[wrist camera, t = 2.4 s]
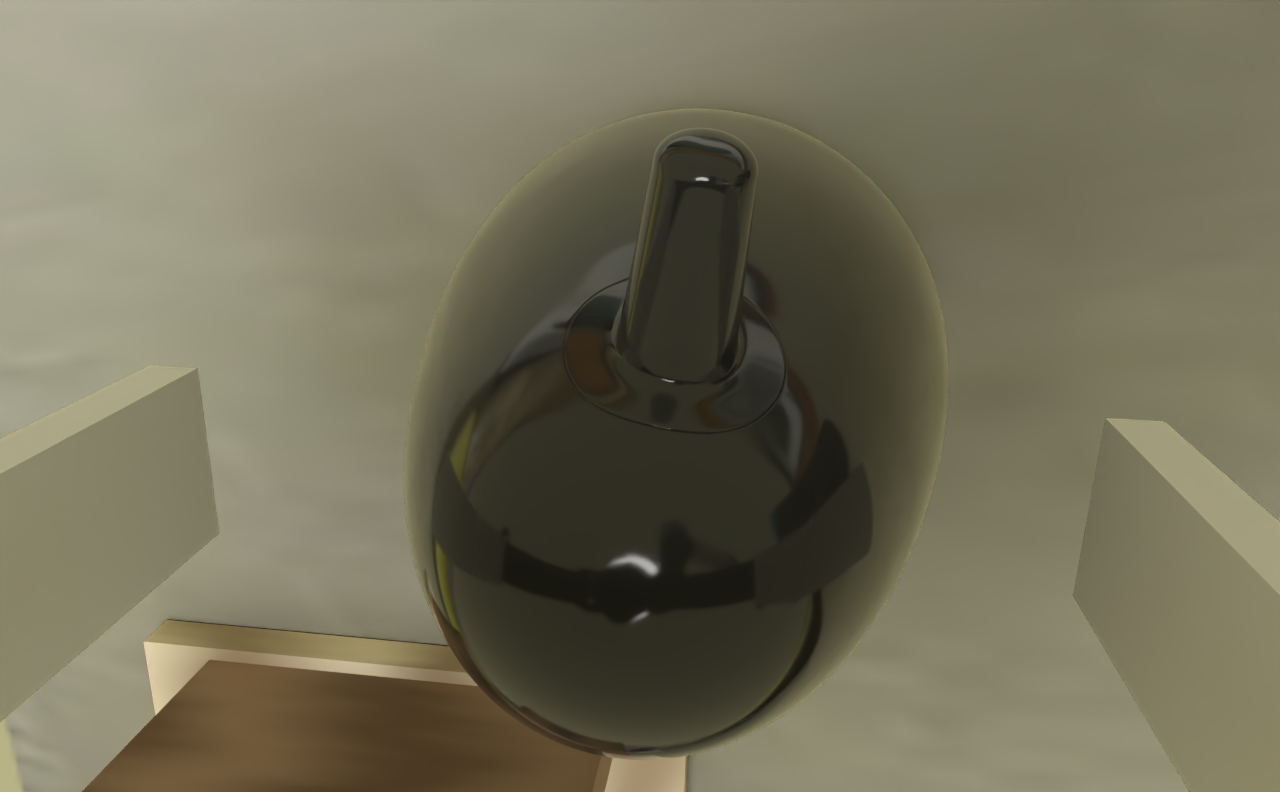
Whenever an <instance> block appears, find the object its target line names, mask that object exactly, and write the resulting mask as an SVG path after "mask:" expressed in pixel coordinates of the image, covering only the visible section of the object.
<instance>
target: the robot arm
mask: <svg viewBox="0 0 1280 792" xmlns="http://www.w3.org/2000/svg"><path fill="white" fill-rule="evenodd" d="M218 534H219V527H218V520H217V512H216V505H215V497H214V489H213V482H212V474H211V467H210V459H209V451H208V444H207V436H206V429H205V421H204V414H203V406H202V398H201V391H200V383H199V376H198V368H187V367H168V366H148V367H146V368H143V369H141V370H139V371H137V372H135V373H133V374H131V375H129V376H127V377H125V378H123V379H121V380H119V381H117V382H115V383H113V384H111V385H109V386H107V387H105V388H103V389H101V390H99V391H97V392H94V393H92V394H90V395H88V396H86V397H84V398H82V399H80V400H78V401H76V402H74V403H72V404H70V405H68V406H66V407H64V408H62V409H60V410H58V411H56V412H54V413H52V414H50V415H47V416H45V417H43V418H41V419H39V420H37V421H35V422H33V423H31V424H29V425H27V426H25V427H23V428H21V429H19V430H17V431H15V432H13V433H11V434H9V435H7V436H5V437H3V438H1V439H0V722H1V721H2V720H3V719H5V718H6V717H7V716H8V715H9V714H10V713H11V712H13V711H14V710H15V709H16V708H17V707H18V706H20V705H21V704H22V703H23V702H24V701H25V700H27V699H28V698H29V697H30V696H31V695H32V694H33V693H35V692H36V691H37V690H38V689H39V688H40V687H42V686H43V685H44V684H45V683H46V682H47V681H49V680H50V679H51V678H52V677H53V676H54V675H56V674H57V673H58V672H59V671H60V670H61V669H62V668H64V667H65V666H66V665H67V664H68V663H69V662H71V661H72V660H73V659H74V658H75V657H76V656H78V655H79V654H80V653H81V652H82V651H83V650H84V649H86V648H87V647H88V646H89V645H90V644H91V643H93V642H94V641H95V640H96V639H97V638H98V637H100V636H101V635H102V634H103V633H104V632H105V631H106V630H108V629H109V628H110V627H111V626H112V625H113V624H115V623H116V622H117V621H118V620H119V619H120V618H122V617H123V616H124V615H125V614H126V613H127V612H129V611H130V610H131V609H132V608H133V607H134V606H135V605H137V604H138V603H139V602H140V601H141V600H142V599H144V598H145V597H146V596H147V595H148V594H149V593H151V592H152V591H153V590H154V589H155V588H156V587H157V586H159V585H160V584H161V583H162V582H163V581H164V580H166V579H167V578H168V577H169V576H170V575H171V574H173V573H174V572H175V571H176V570H177V569H178V568H179V567H181V566H182V565H183V564H184V563H185V562H186V561H188V560H189V559H190V558H191V557H192V556H193V555H195V554H196V553H197V552H198V551H199V550H200V549H202V548H203V547H204V546H205V545H206V544H207V543H208V542H210V541H211V540H212V539H213V538H214V537H215V536H217V535H218ZM1073 596H1074V598H1075V600H1076V601H1077V603H1078V605H1079V606H1080V608H1081V610H1082V611H1083V613H1084V615H1085V616H1086V618H1087V620H1088V622H1089V623H1090V625H1091V627H1092V628H1093V630H1094V632H1095V633H1096V635H1097V637H1098V638H1099V640H1100V642H1101V644H1102V645H1103V647H1104V649H1105V650H1106V652H1107V654H1108V655H1109V657H1110V659H1111V660H1112V662H1113V664H1114V665H1115V667H1116V669H1117V671H1118V672H1119V674H1120V676H1121V677H1122V679H1123V681H1124V682H1125V684H1126V686H1127V687H1128V689H1129V691H1130V693H1131V694H1132V696H1133V698H1134V699H1135V701H1136V703H1137V704H1138V706H1139V708H1140V709H1141V711H1142V713H1143V714H1144V716H1145V718H1146V720H1147V721H1148V723H1149V725H1150V726H1151V728H1152V730H1153V731H1154V733H1155V735H1156V736H1157V738H1158V740H1159V742H1160V743H1161V745H1162V747H1163V748H1164V750H1165V752H1166V753H1167V755H1168V757H1169V758H1170V760H1171V762H1172V763H1173V765H1174V767H1175V769H1176V770H1177V772H1178V774H1179V775H1180V777H1181V779H1182V780H1183V782H1184V784H1185V785H1186V787H1187V789H1188V791H1189V792H1280V522H1279V521H1277V520H1276V519H1275V518H1274V517H1273V516H1272V515H1271V514H1270V513H1268V512H1267V511H1266V510H1265V509H1264V508H1263V507H1262V506H1260V505H1259V504H1258V503H1257V502H1256V501H1255V500H1254V499H1252V498H1251V497H1250V496H1249V495H1248V494H1247V493H1246V492H1244V491H1243V490H1242V489H1241V488H1240V487H1239V486H1238V485H1236V484H1235V483H1234V482H1233V481H1232V480H1231V479H1230V478H1228V477H1227V476H1226V475H1225V474H1224V473H1223V472H1222V471H1220V470H1219V469H1218V468H1217V467H1216V466H1215V465H1214V464H1213V463H1211V462H1210V461H1209V460H1208V459H1207V458H1206V457H1205V456H1203V455H1202V454H1201V453H1200V452H1199V451H1198V450H1197V449H1195V448H1194V447H1193V446H1192V445H1191V444H1190V443H1189V442H1187V441H1186V440H1185V439H1184V438H1183V437H1182V436H1181V435H1179V434H1178V433H1177V432H1176V431H1175V430H1174V429H1173V428H1171V427H1170V426H1169V425H1168V424H1167V423H1166V422H1165V421H1152V420H1133V419H1115V418H1105V424H1104V429H1103V435H1102V440H1101V446H1100V451H1099V457H1098V462H1097V468H1096V473H1095V479H1094V484H1093V490H1092V495H1091V501H1090V506H1089V512H1088V517H1087V522H1086V528H1085V533H1084V539H1083V544H1082V550H1081V555H1080V561H1079V566H1078V572H1077V577H1076V583H1075V588H1074V594H1073Z"/></svg>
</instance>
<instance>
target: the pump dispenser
mask: <svg viewBox="0 0 1280 792" xmlns="http://www.w3.org/2000/svg"><path fill="white" fill-rule="evenodd" d="M947 410H948V354H947V341H946V332H945V325H944V319H943V313H942V308H941V304H940V300H939V296H938V292H937V289H936V285H935V282H934V279H933V276H932V273H931V271H930V268H929V266H928V263H927V261H926V259H925V257H924V254H923V252H922V250H921V248H920V246H919V244H918V242H917V240H916V238H915V237H914V235H913V233H912V232H911V230H910V228H909V227H908V225H907V223H906V222H905V220H904V219H903V217H902V216H901V214H900V213H899V212H898V210H897V209H896V208H895V206H894V205H893V204H892V202H891V201H890V200H889V199H888V198H887V196H886V195H885V194H884V193H883V192H882V191H881V190H880V188H879V187H878V186H877V185H876V184H875V183H874V182H873V181H872V180H871V179H870V178H869V177H868V176H867V175H866V174H865V173H863V172H862V171H861V170H860V169H859V168H858V167H857V166H855V165H854V164H853V163H852V162H850V161H849V160H848V159H847V158H845V157H844V156H842V155H841V154H840V153H838V152H837V151H835V150H834V149H832V148H831V147H829V146H828V145H826V144H824V143H823V142H821V141H819V140H817V139H816V138H814V137H812V136H810V135H808V134H806V133H804V132H802V131H799V130H797V129H795V128H793V127H790V126H788V125H785V124H782V123H780V122H777V121H774V120H770V119H767V118H764V117H760V116H756V115H752V114H747V113H742V112H736V111H729V110H720V109H706V108H689V109H674V110H665V111H658V112H652V113H647V114H642V115H638V116H634V117H630V118H627V119H623V120H620V121H617V122H614V123H611V124H609V125H606V126H603V127H601V128H599V129H596V130H594V131H592V132H590V133H588V134H586V135H584V136H582V137H579V138H578V139H576V140H574V141H572V142H570V143H569V144H567V145H565V146H564V147H562V148H561V149H559V150H557V151H556V152H554V153H553V154H552V155H550V156H549V157H547V158H546V159H545V160H543V161H542V162H541V163H539V164H538V165H537V166H536V167H534V168H533V169H532V170H531V171H530V172H529V173H528V174H526V175H525V176H524V177H523V178H522V179H521V180H520V181H519V182H518V183H517V184H516V185H515V186H514V187H513V188H512V189H511V190H510V191H509V192H508V193H507V194H506V195H505V197H504V198H503V199H502V200H501V201H500V202H499V204H498V205H497V206H496V207H495V209H494V210H493V211H492V213H491V214H490V215H489V217H488V218H487V219H486V221H485V222H484V223H483V225H482V226H481V228H480V229H479V231H478V232H477V234H476V235H475V236H474V238H473V239H472V241H471V243H470V244H469V246H468V247H467V249H466V251H465V252H464V254H463V256H462V257H461V259H460V261H459V263H458V264H457V266H456V268H455V270H454V272H453V274H452V276H451V278H450V280H449V282H448V284H447V286H446V288H445V291H444V293H443V295H442V297H441V300H440V302H439V305H438V307H437V310H436V312H435V315H434V318H433V321H432V324H431V327H430V330H429V333H428V336H427V340H426V343H425V347H424V350H423V354H422V357H421V361H420V365H419V369H418V374H417V378H416V382H415V387H414V391H413V396H412V401H411V407H410V413H409V418H408V425H407V433H406V442H405V455H404V496H405V510H406V520H407V528H408V535H409V541H410V546H411V551H412V555H413V560H414V564H415V568H416V571H417V575H418V578H419V581H420V584H421V587H422V590H423V593H424V596H425V598H426V601H427V603H428V606H429V608H430V610H431V613H432V615H433V617H434V619H435V621H436V623H437V625H438V627H439V629H440V631H441V633H442V635H443V637H444V639H445V640H446V642H447V644H448V645H449V647H450V649H451V650H452V652H453V653H454V655H455V657H456V658H457V660H458V661H459V662H460V664H461V665H462V667H463V668H464V669H465V671H466V672H467V673H468V674H469V676H470V677H471V678H472V679H473V681H474V682H475V683H476V684H477V685H478V686H479V687H480V688H481V690H482V691H483V692H484V693H485V694H486V695H487V696H488V697H489V698H490V699H492V700H493V701H494V702H495V703H496V704H497V705H498V706H499V707H500V708H502V709H503V710H504V711H505V712H507V713H508V714H509V715H511V716H512V717H513V718H515V719H516V720H518V721H519V722H520V723H522V724H524V725H525V726H527V727H528V728H530V729H532V730H533V731H535V732H537V733H539V734H541V735H543V736H544V737H547V738H549V739H551V740H553V741H555V742H557V743H560V744H562V745H565V746H567V747H570V748H573V749H576V750H579V751H583V752H586V753H590V754H594V755H599V756H604V757H610V758H618V759H628V760H659V759H670V758H677V757H683V756H688V755H693V754H698V753H702V752H705V751H709V750H712V749H715V748H718V747H721V746H724V745H726V744H729V743H731V742H734V741H736V740H738V739H741V738H743V737H745V736H747V735H749V734H751V733H753V732H755V731H757V730H759V729H761V728H763V727H764V726H766V725H768V724H770V723H771V722H773V721H775V720H776V719H778V718H779V717H781V716H782V715H784V714H785V713H787V712H788V711H790V710H791V709H793V708H794V707H795V706H797V705H798V704H800V703H801V702H802V701H803V700H805V699H806V698H807V697H808V696H810V695H811V694H812V693H813V692H814V691H815V690H816V689H818V688H819V687H820V686H821V685H822V684H823V683H824V682H825V681H826V680H827V679H828V678H829V677H830V676H831V675H832V674H833V673H834V672H835V671H836V670H837V669H838V668H839V667H840V666H841V665H842V664H843V662H844V661H845V660H846V659H847V658H848V657H849V655H850V654H851V653H852V652H853V651H854V649H855V648H856V647H857V646H858V644H859V643H860V642H861V640H862V639H863V638H864V636H865V635H866V634H867V632H868V631H869V629H870V628H871V627H872V625H873V624H874V622H875V621H876V619H877V618H878V616H879V615H880V613H881V612H882V610H883V608H884V607H885V605H886V603H887V602H888V600H889V598H890V596H891V595H892V593H893V591H894V589H895V587H896V585H897V583H898V581H899V579H900V577H901V575H902V573H903V570H904V568H905V566H906V564H907V561H908V559H909V557H910V554H911V552H912V549H913V547H914V544H915V541H916V539H917V536H918V533H919V531H920V528H921V525H922V522H923V519H924V516H925V513H926V510H927V507H928V504H929V501H930V498H931V494H932V491H933V487H934V484H935V480H936V476H937V472H938V468H939V464H940V459H941V454H942V449H943V443H944V437H945V430H946V421H947Z"/></svg>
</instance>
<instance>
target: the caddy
mask: <svg viewBox="0 0 1280 792" xmlns="http://www.w3.org/2000/svg"><path fill="white" fill-rule="evenodd" d="M144 647H145V653H146V660H147V666H148V672H149V678H150V684H151V690H152V696H153V702H154V708H155V714H156V716H155V717H154V718H153V719H152V720H151V721H150V722H149V723H148V724H147V725H146V726H145V727H144V728H143V729H142V730H141V731H140V732H139V733H138V734H137V735H136V736H135V737H134V738H133V739H132V740H131V741H130V742H129V744H128V745H127V746H126V747H125V748H124V749H123V750H122V751H121V752H120V753H119V754H118V755H117V756H116V757H115V758H114V759H113V760H112V761H111V762H110V763H109V764H108V765H107V766H106V767H105V768H104V769H103V771H102V772H101V773H100V774H99V775H98V776H97V777H96V778H95V779H94V780H93V781H92V782H91V783H90V784H89V785H88V786H87V787H86V788H85V789H84V790H83V791H82V792H687V772H688V756H683V757H677V758H670V759H659V760H628V759H618V758H610V757H604V756H599V755H594V754H590V753H586V752H583V751H579V750H576V749H573V748H570V747H567V746H565V745H562V744H560V743H557V742H555V741H553V740H551V739H549V738H547V737H544V736H543V735H541V734H539V733H537V732H535V731H533V730H532V729H530V728H528V727H527V726H525V725H524V724H522V723H520V722H519V721H518V720H516V719H515V718H513V717H512V716H511V715H509V714H508V713H507V712H505V711H504V710H503V709H502V708H500V707H499V706H498V705H497V704H496V703H495V702H494V701H493V700H492V699H490V698H489V697H488V696H487V695H486V694H485V693H484V692H483V691H482V690H481V688H480V687H479V686H478V685H477V684H476V683H475V682H474V681H473V679H472V678H471V677H470V676H469V674H468V673H467V672H466V671H465V669H464V668H463V667H462V665H461V664H460V662H459V661H458V660H457V658H456V657H455V655H454V653H453V652H452V650H451V649H450V647H449V646H440V645H429V644H419V643H408V642H397V641H387V640H376V639H365V638H355V637H344V636H334V635H323V634H312V633H302V632H291V631H280V630H270V629H259V628H248V627H238V626H227V625H217V624H206V623H195V622H185V621H174V620H167V621H166V622H165V623H164V624H162V625H161V626H160V627H159V628H158V629H157V630H156V631H155V632H154V633H152V634H151V635H150V636H149V637H148V638H147V639H146V640H145V641H144Z"/></svg>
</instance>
